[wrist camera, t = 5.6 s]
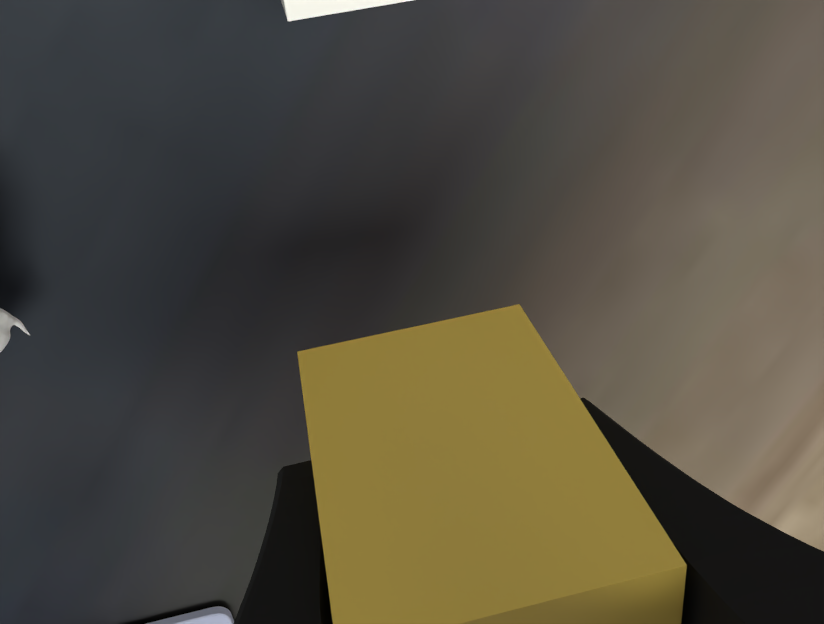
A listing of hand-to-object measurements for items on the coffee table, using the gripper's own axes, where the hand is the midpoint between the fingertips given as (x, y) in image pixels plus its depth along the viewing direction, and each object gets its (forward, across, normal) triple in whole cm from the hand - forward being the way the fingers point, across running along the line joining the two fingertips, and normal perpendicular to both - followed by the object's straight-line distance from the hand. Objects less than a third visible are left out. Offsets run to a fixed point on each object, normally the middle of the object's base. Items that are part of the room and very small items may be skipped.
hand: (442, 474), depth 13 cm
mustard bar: (+2, 0, 0) cm, 2 cm away
